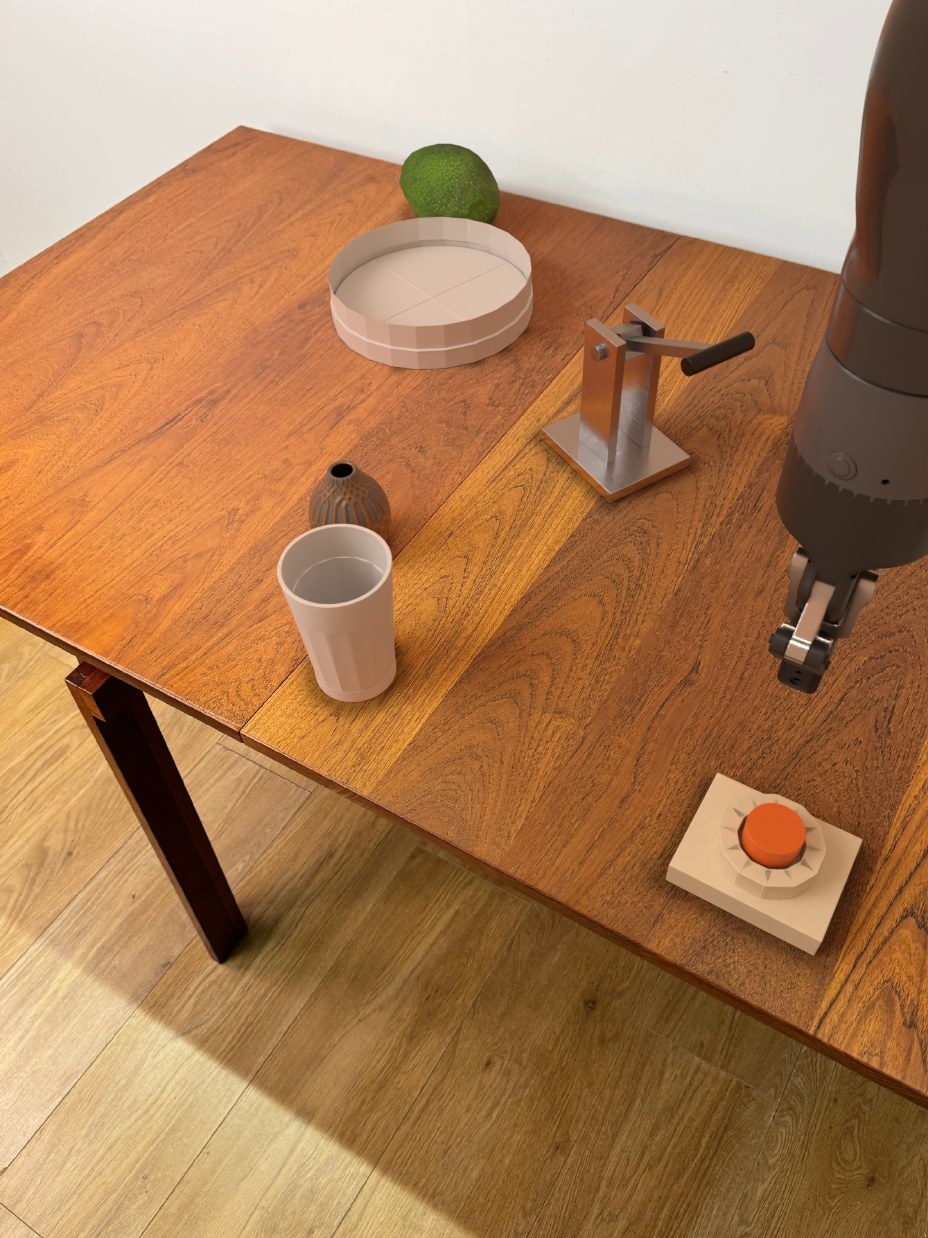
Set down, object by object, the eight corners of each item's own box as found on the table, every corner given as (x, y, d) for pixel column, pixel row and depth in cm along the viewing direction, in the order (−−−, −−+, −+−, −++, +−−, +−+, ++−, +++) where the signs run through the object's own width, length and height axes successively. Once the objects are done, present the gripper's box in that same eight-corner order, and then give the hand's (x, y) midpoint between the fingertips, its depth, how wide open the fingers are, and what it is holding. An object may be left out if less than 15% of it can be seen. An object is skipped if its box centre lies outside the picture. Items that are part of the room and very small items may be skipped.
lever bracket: (689, 466, 92) (711, 337, 81) (609, 503, 89) (622, 375, 78) (616, 404, 98) (628, 277, 87) (540, 438, 95) (543, 310, 85)
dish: (294, 305, 112) (286, 264, 108) (449, 236, 120) (447, 195, 116) (412, 397, 100) (408, 354, 96) (575, 313, 108) (577, 271, 105)
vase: (364, 507, 90) (352, 430, 83) (411, 548, 86) (401, 471, 80) (300, 543, 87) (282, 467, 81) (345, 587, 84) (330, 511, 77)
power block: (854, 855, 66) (870, 825, 63) (813, 956, 62) (828, 930, 59) (712, 788, 70) (721, 757, 67) (665, 880, 66) (672, 851, 62)
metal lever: (757, 356, 75) (753, 325, 74) (695, 384, 73) (690, 352, 72) (644, 342, 87) (639, 315, 86) (588, 366, 85) (582, 338, 84)
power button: (808, 832, 63) (814, 819, 62) (788, 877, 61) (794, 864, 60) (754, 807, 65) (759, 793, 63) (732, 850, 63) (737, 837, 61)
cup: (426, 653, 79) (414, 546, 70) (369, 727, 74) (348, 623, 65) (343, 616, 82) (321, 509, 72) (284, 685, 77) (253, 580, 68)
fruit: (384, 213, 124) (375, 131, 117) (452, 190, 127) (448, 109, 120) (444, 266, 116) (439, 182, 108) (516, 240, 119) (516, 157, 111)
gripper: (934, 565, 37) (826, 799, 51) (1013, 376, 45) (901, 625, 58) (743, 499, 40) (688, 737, 53) (846, 331, 47) (775, 578, 60)
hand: (799, 678), depth 56 cm, fingers closed
